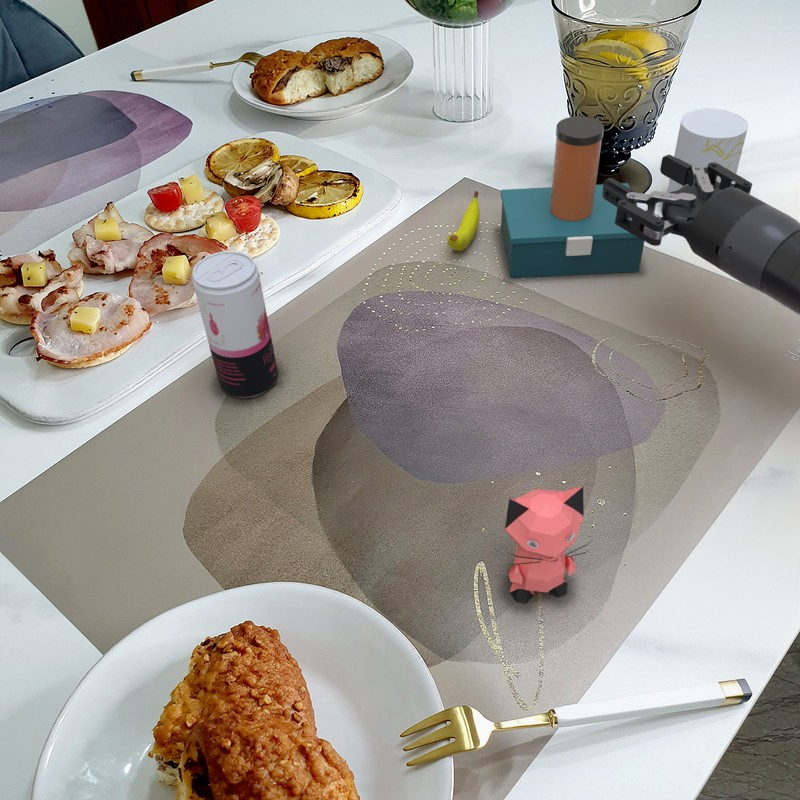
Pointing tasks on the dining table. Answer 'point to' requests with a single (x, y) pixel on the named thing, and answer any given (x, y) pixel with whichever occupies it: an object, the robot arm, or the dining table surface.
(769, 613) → the dining table surface
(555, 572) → the cat figurine
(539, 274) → the lunchbox
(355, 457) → the dining table surface
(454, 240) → the fruit
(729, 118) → the cup
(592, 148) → the tea tin
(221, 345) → the beverage can
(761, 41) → the dining table surface
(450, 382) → the dining table surface
